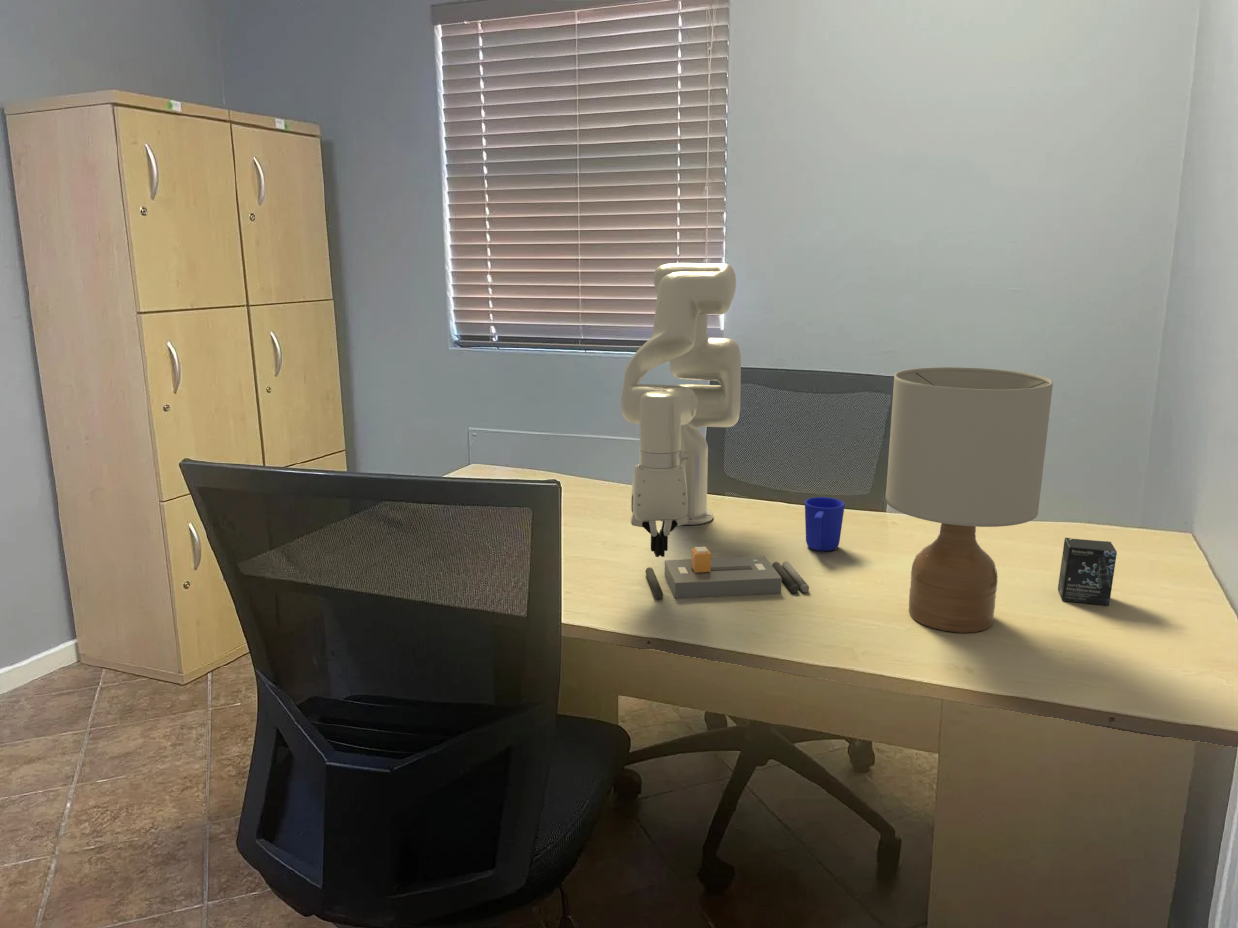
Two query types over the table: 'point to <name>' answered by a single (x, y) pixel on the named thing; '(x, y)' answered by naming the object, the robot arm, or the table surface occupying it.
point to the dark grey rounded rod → (654, 583)
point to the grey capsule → (786, 577)
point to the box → (1087, 571)
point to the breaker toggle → (701, 559)
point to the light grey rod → (795, 576)
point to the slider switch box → (723, 577)
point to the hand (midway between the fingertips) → (659, 554)
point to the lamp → (964, 478)
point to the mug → (823, 522)
